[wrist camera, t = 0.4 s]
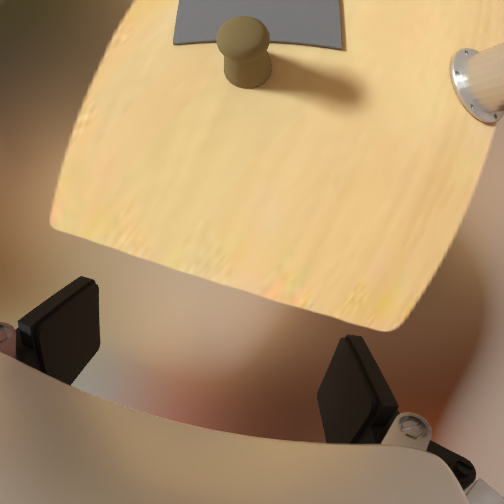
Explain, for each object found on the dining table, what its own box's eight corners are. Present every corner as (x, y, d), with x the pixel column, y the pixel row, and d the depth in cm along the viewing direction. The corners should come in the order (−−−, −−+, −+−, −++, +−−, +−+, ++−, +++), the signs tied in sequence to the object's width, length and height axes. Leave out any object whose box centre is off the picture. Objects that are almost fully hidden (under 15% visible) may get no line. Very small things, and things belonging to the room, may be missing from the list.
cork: (274, 51, 31) (278, 11, 21) (267, 91, 33) (270, 61, 22) (228, 45, 31) (216, 5, 21) (220, 86, 33) (203, 55, 22)
